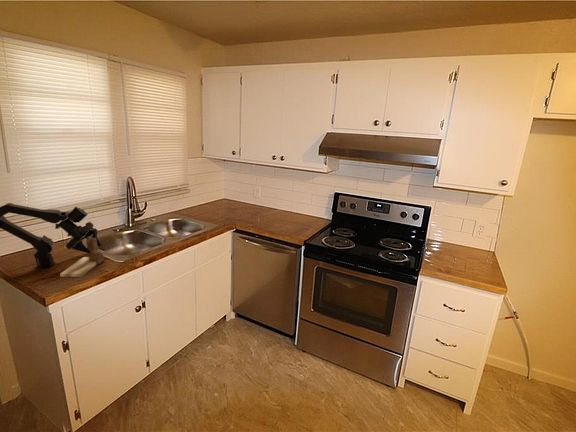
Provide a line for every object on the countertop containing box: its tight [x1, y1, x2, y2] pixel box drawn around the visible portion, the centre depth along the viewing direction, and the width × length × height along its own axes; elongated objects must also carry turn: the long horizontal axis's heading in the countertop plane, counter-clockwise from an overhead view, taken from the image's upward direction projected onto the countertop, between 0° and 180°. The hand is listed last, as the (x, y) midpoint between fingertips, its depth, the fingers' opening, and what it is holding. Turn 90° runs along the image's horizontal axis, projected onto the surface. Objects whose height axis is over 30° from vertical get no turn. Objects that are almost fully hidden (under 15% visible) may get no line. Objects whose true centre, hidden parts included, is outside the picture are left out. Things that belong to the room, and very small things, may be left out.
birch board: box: [59, 256, 98, 278], centre depth 163 cm, size 10×20×2 cm, turn 3°
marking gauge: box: [85, 238, 105, 265], centre depth 167 cm, size 6×5×14 cm
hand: (95, 249), depth 167 cm, fingers open, 9 cm apart
